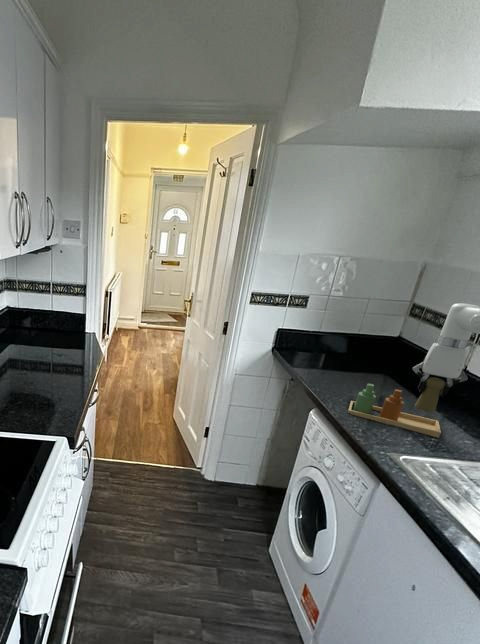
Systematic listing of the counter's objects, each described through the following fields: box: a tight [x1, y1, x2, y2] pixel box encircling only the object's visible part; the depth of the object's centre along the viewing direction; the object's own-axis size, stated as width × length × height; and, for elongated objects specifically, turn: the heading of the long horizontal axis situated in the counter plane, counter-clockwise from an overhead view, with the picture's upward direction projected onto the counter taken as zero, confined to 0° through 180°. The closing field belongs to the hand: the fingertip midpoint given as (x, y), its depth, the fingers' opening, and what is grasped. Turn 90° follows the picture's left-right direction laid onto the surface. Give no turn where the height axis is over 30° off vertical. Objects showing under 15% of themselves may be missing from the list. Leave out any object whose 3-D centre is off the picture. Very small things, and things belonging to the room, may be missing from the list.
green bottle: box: [352, 383, 377, 415], centre depth 153 cm, size 6×6×11 cm
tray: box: [347, 400, 442, 439], centre depth 151 cm, size 28×12×2 cm, turn 56°
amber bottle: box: [378, 389, 405, 421], centre depth 149 cm, size 6×6×11 cm
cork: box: [414, 377, 446, 413], centre depth 142 cm, size 6×6×11 cm
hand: (431, 393), depth 142 cm, fingers closed on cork, 5 cm apart
